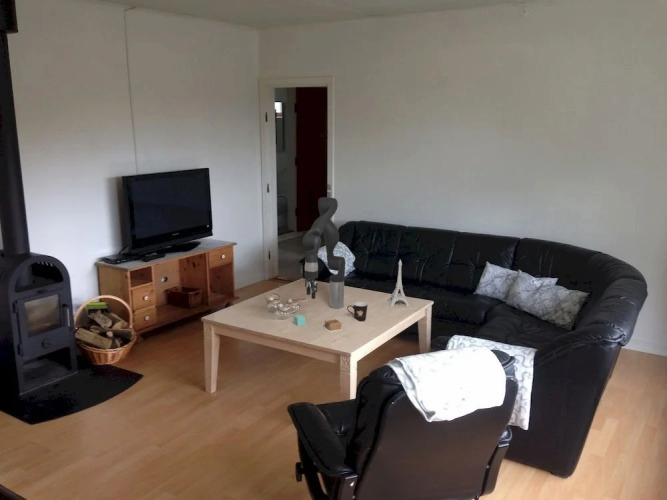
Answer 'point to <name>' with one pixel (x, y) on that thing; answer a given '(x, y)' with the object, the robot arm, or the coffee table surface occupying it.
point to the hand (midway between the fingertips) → (310, 296)
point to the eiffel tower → (396, 295)
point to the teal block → (299, 320)
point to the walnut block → (333, 325)
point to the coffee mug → (359, 311)
